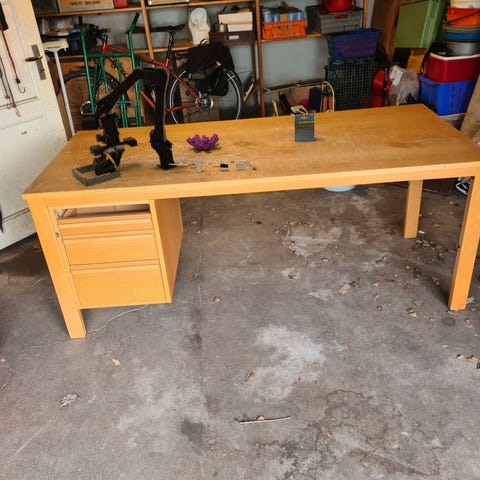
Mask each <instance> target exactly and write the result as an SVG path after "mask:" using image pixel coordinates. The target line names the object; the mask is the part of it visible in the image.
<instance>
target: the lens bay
mask: <svg viewBox="0 0 480 480" xmlns="http://www.w3.org/2000/svg"><path fill="white" fill-rule="evenodd" d="M92 171H94V167H93V163H90V164H86V165H83V166H79V167H75V168H72V169H71V172H72V176H73V177H75V178H76V179H77V180H78V181H80V182H81V183H82V184H83V185H85V186H86V187H90V186H94V185H97V184H101V183H104V182H107V181H111V180H115V179H117V178H121V172H120V170H116V171H114V172H111V173H106V174H102V175H98V176H97V175H95V176H93V177H90V178H89V177H88V178H87V177H86V176H85V175H83V174H85V173H89V172H92Z"/></svg>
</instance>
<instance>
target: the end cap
mask: <svg viewBox="0 0 480 480" xmlns="http://www.w3.org/2000/svg"><path fill="white" fill-rule="evenodd" d="M107 157H108V154H107V153H105V152H104V153H103V155H99V156H94V158H93V160H92V164H93V167H94V170H93V171H94V174H95V176H98V175H102V174H106V173H111V172H114V171H117V169H116V164H115V163H114V162H113V160H111V159H112V158H111V157H110V158H107Z"/></svg>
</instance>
